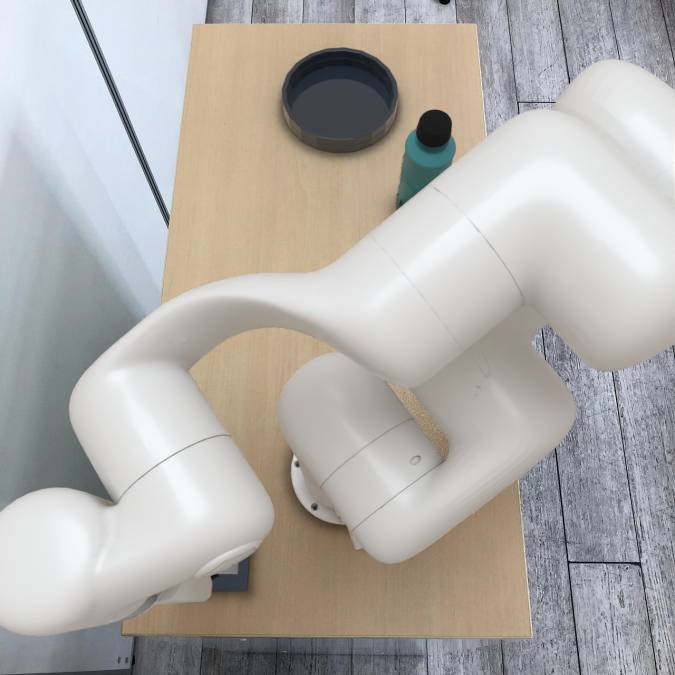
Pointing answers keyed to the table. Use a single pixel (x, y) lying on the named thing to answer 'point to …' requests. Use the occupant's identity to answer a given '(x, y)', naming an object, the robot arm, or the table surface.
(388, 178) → the table surface
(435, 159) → the beverage bottle
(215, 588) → the mat
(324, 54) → the pan
